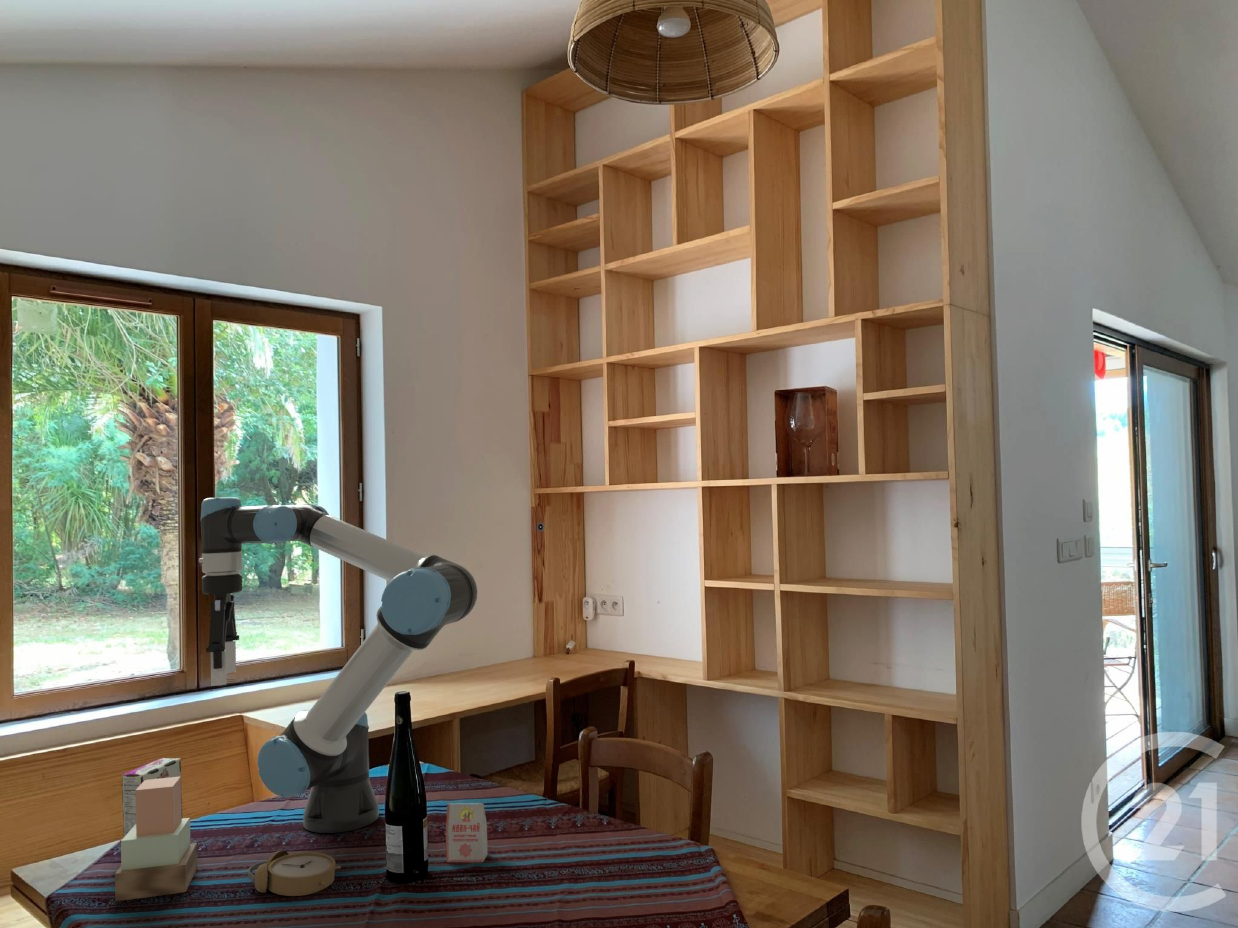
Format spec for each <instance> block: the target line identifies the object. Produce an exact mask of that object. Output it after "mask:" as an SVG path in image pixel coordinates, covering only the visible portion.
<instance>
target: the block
mask: <svg viewBox="0 0 1238 928" xmlns="http://www.w3.org/2000/svg"><path fill="white" fill-rule="evenodd" d="M181 788H182V775H181V776H180V777H170V778H160V779H150V780H144V781H143V783H142V784H141V785H140V786H139V787H138V788H137V789H136V837H138V836H147V835H156V834H165V833H174V832H175V830H176V829H177V827H178V826H179V824H180V823H181V821H182V818H183V805H182V806H181Z"/></svg>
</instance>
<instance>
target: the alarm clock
mask: <svg viewBox="0 0 1238 928" xmlns="http://www.w3.org/2000/svg"><path fill="white" fill-rule="evenodd" d="M341 868H342V866H341V865H336V861H335V858H334V857H332V856H331V855H329V854H326V853H322V852H317V851H316V852H315V851H302V852H293V853H290V854H289V852H287V851H286V850H277V851H275V852H273V853H271V855H270V856H269V858H268V859H267V861H266V860H265V861H260V862H257V863H254V864H252V865H251V866H250V867H249V868H248V869H247V877H248V879H250V882H252V883H253V884H254V888H255V889H256V891H257V892H259V893H260V894H261V893H262V894H265V893H267V889H268V890H269V891H270V892H272V893H273V894H276V895H278V896H279V895H280V896H287V897H296V896H297V897H299V896H306V895H311V894H314V893H317V892H320V891H323V890H324V889H326V888H328V887H329V886H330V885H332V884H333V883H334V881H335V871H336V870H340V869H341ZM254 871H255V873H254V874H253V873H252V872H254Z"/></svg>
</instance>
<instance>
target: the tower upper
mask: <svg viewBox="0 0 1238 928" xmlns="http://www.w3.org/2000/svg"><path fill="white" fill-rule="evenodd" d="M190 844H191V818H190V817H182V821H181V823H180V824H179V826H178V827H177V829H176V830H175V832H174V833H165V834H156V835H147V836H138V837H136V824H135V825H134V827H133V828H132V829H131V830H130V831H129V832H128V833H127V835H126V836H125V837H124V836H123V838H121V840H120V857H121V858H120V860H121V861H120V862H121V863H120V866H121V870H129V869H138V868H147V867H156V866H165V865H174V864H178V863H179V862H180V860H181V859H182V857H183V856H184V854H185V853H186V851H187V850H188V848H189V847H190Z"/></svg>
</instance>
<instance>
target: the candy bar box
mask: <svg viewBox="0 0 1238 928" xmlns="http://www.w3.org/2000/svg"><path fill="white" fill-rule="evenodd" d="M181 760H182V759H181V758H180V757H179V758H178V757H175V758H174V757H173V758H172V757H162V758H161V757H160V758H158V759H155V760H154V761H151V762H148V763H146V764H144V765H141V766H139V767H137V768H134V769H132V770H130V771H127V772H125V773H123V774H121V791H122V793H121V794H122V798H121V799H122V817H123V818H122V820H123V821H122V825H123V838H124V837H125V836H126V835H127V833H128V832H129V831H130V830H131V829H132V828H133V827H134V825H135V824H136V789H137V788H138V787H139V786H140V785H141V784H142V783H143V781H144V780H150V779H160V778H170V777H180V776H181V777H182V769H181V768H182V767H181V766H182V765H181ZM182 791H183V790H182V787H181V806H182V807H183V799H182V797H183V795H182V793H183V792H182Z"/></svg>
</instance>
